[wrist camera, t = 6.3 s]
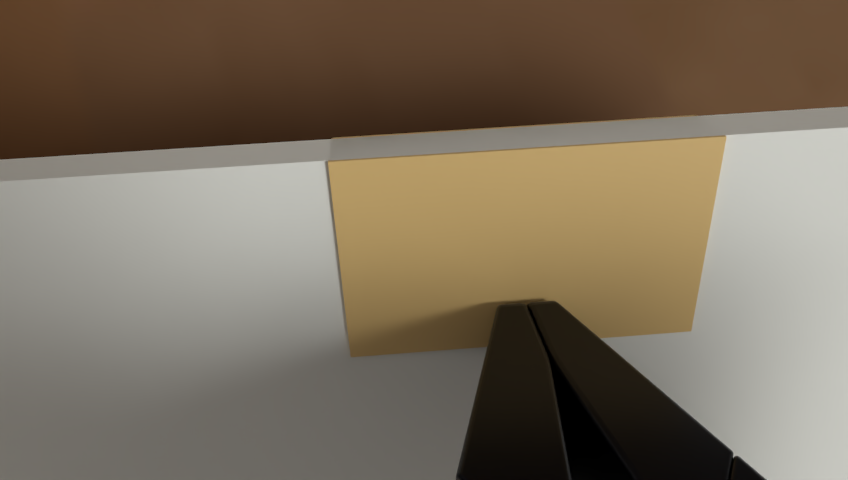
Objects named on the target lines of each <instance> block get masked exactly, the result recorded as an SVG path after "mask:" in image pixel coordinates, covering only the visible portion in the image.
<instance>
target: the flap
mask: <svg viewBox="0 0 848 480" xmlns="http://www.w3.org/2000/svg"><path fill="white" fill-rule="evenodd" d="M539 301H556V302H558V303H559V304H560V305H562V306H563V307H564V308H565V309H566V310H567V311H569V312H570V313H571V314H572V315H573V316H574V317H576V318H577V319H578V320H579V321H580V322H582V323H583V324H584V325H585V326H586V327H587V328H589V329H590V330H591V331H592V332H593V333H594V334H596V335H597V336H598V337H599V338H600V339H601V340H603V341H604V342H605V343H606V344H607V345H609V346H610V347H611V348H612V349H613V350H614V351H616V352H617V353H618V354H619V355H620V356H621V357H623V358H624V359H625V360H626V361H627V362H629V363H630V364H631V365H632V366H633V367H634V368H636V369H637V370H638V371H639V372H640V373H641V374H643V375H644V376H645V377H646V378H647V379H649V380H650V381H651V382H652V383H653V384H654V385H656V386H657V387H658V388H659V389H660V390H661V391H663V392H664V393H665V394H666V395H667V396H668V397H670V398H671V399H672V400H673V401H674V402H676V403H677V404H678V405H679V406H680V407H681V408H683V409H684V410H685V411H686V412H687V413H688V414H690V415H691V416H692V417H693V418H694V419H696V420H697V421H698V422H699V423H700V424H701V425H703V426H704V427H705V428H706V429H707V430H708V431H710V432H711V433H712V434H713V435H714V436H716V437H717V438H718V439H719V440H720V441H721V442H723V443H724V444H725V445H726V446H727V447H728V448H730V449H731V450H732V451H733V453H734V456H739V457H741V458H742V459H743V460H744V461H745V462H746V463H748V464H749V465H750V466H751V467H752V468H753V469H755V470H756V471H757V472H758V473H759V474H761V475H762V476H763V477H764V478H765V479H767V480H848V107H834V108H818V109H802V110H786V111H770V112H754V113H738V114H722V115H706V116H697V115H687V116H671V117H655V118H639V119H623V120H607V121H591V122H575V123H559V124H543V125H527V126H511V127H495V128H479V129H463V130H447V131H431V132H415V133H399V134H383V135H367V136H351V137H335V138H332V139H323V140H307V141H291V142H275V143H259V144H243V145H227V146H211V147H195V148H179V149H163V150H147V151H131V152H115V153H99V154H83V155H67V156H51V157H35V158H19V159H3V160H0V480H456V473H457V469H458V465H459V461H460V457H461V453H462V449H463V445H464V440H465V436H466V432H467V428H468V424H469V420H470V416H471V412H472V408H473V403H474V399H475V395H476V391H477V387H478V383H479V379H480V375H481V370H482V366H483V362H484V358H485V354H486V350H487V346H488V342H489V337H490V333H491V329H492V325H493V321H494V317H495V313H496V309H497V307H498V306H499V305H501V304H512V303H524V304H525V305H526V306H527V305H528V304H529V303H530V302H539ZM734 456H733V457H734Z"/></svg>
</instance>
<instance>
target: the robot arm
mask: <svg viewBox="0 0 848 480" xmlns="http://www.w3.org/2000/svg"><path fill="white" fill-rule="evenodd" d="M733 456H734V453H733V451H732V450H731V449H730V448H728V447H727V446H726V445H725V444H724V443H723V442H721V441H720V440H719V439H718V438H717V437H716V436H714V435H713V434H712V433H711V432H710V431H708V430H707V429H706V428H705V427H704V426H703V425H701V424H700V423H699V422H698V421H697V420H696V419H694V418H693V417H692V416H691V415H690V414H688V413H687V412H686V411H685V410H684V409H683V408H681V407H680V406H679V405H678V404H677V403H676V402H674V401H673V400H672V399H671V398H670V397H668V396H667V395H666V394H665V393H664V392H663V391H661V390H660V389H659V388H658V387H657V386H656V385H654V384H653V383H652V382H651V381H650V380H649V379H647V378H646V377H645V376H644V375H643V374H641V373H640V372H639V371H638V370H637V369H636V368H634V367H633V366H632V365H631V364H630V363H629V362H627V361H626V360H625V359H624V358H623V357H621V356H620V355H619V354H618V353H617V352H616V351H614V350H613V349H612V348H611V347H610V346H609V345H607V344H606V343H605V342H604V341H603V340H601V339H600V338H599V337H598V336H597V335H596V334H594V333H593V332H592V331H591V330H590V329H589V328H587V327H586V326H585V325H584V324H583V323H582V322H580V321H579V320H578V319H577V318H576V317H574V316H573V315H572V314H571V313H570V312H569V311H567V310H566V309H565V308H564V307H563V306H562V305H560V304H559V303H558V302H556V301H539V302H530V303H529V304H528V305H527V306H526V305H525V304H524V303H512V304H501V305H499V306H498V307H497V309H496V313H495V317H494V321H493V325H492V329H491V333H490V337H489V342H488V346H487V350H486V354H485V358H484V362H483V366H482V370H481V375H480V379H479V383H478V387H477V391H476V395H475V399H474V403H473V408H472V412H471V416H470V420H469V424H468V428H467V432H466V436H465V440H464V445H463V449H462V453H461V457H460V461H459V465H458V469H457V473H456V480H767V479H765V478H764V477H763V476H762V475H761V474H759V473H758V472H757V471H756V470H755V469H753V468H752V467H751V466H750V465H749V464H748V463H746V462H745V461H744V460H743V459H742V458H741V457H739V456H734V457H733Z"/></svg>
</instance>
